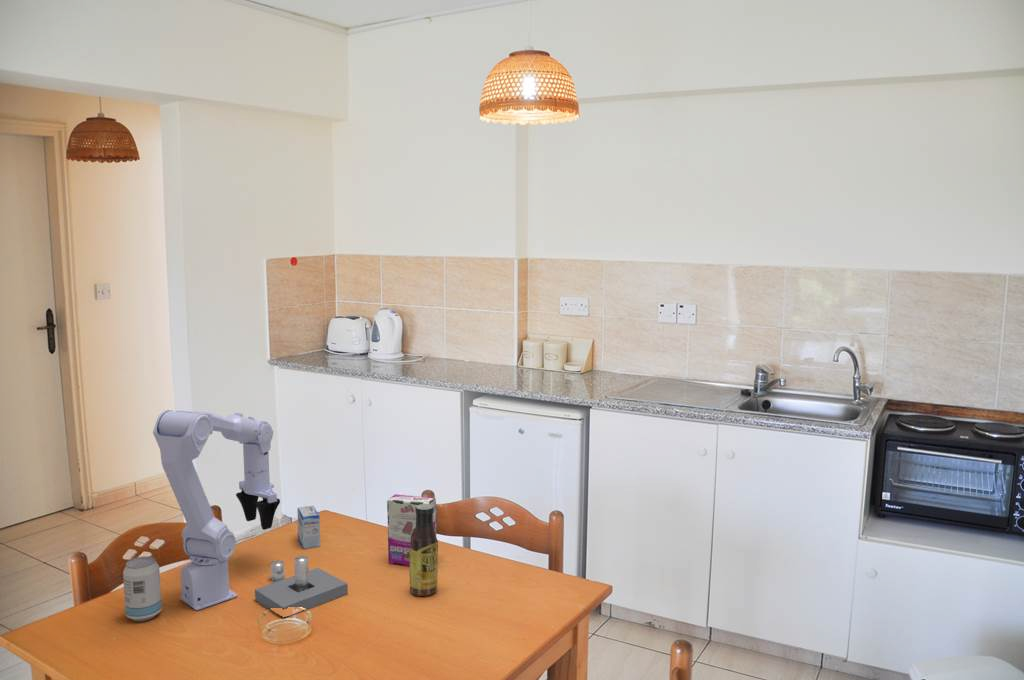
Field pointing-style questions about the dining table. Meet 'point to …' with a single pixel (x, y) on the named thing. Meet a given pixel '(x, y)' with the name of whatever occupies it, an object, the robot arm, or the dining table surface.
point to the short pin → (277, 571)
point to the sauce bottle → (423, 553)
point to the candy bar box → (403, 525)
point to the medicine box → (308, 527)
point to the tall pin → (301, 573)
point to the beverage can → (142, 588)
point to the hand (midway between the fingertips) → (258, 524)
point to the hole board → (318, 593)
